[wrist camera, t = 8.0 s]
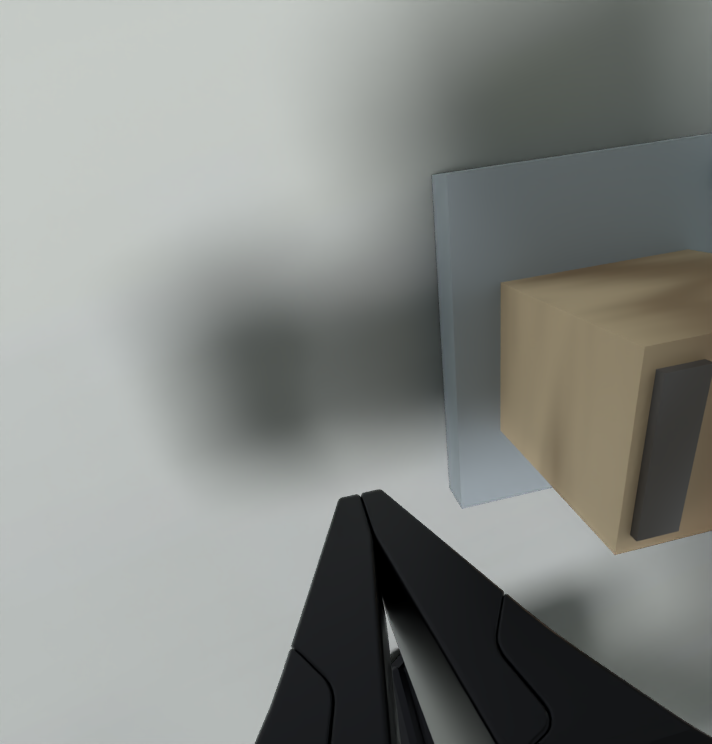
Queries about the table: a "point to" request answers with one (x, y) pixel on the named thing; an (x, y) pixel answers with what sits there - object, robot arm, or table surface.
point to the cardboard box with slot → (616, 392)
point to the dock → (544, 269)
